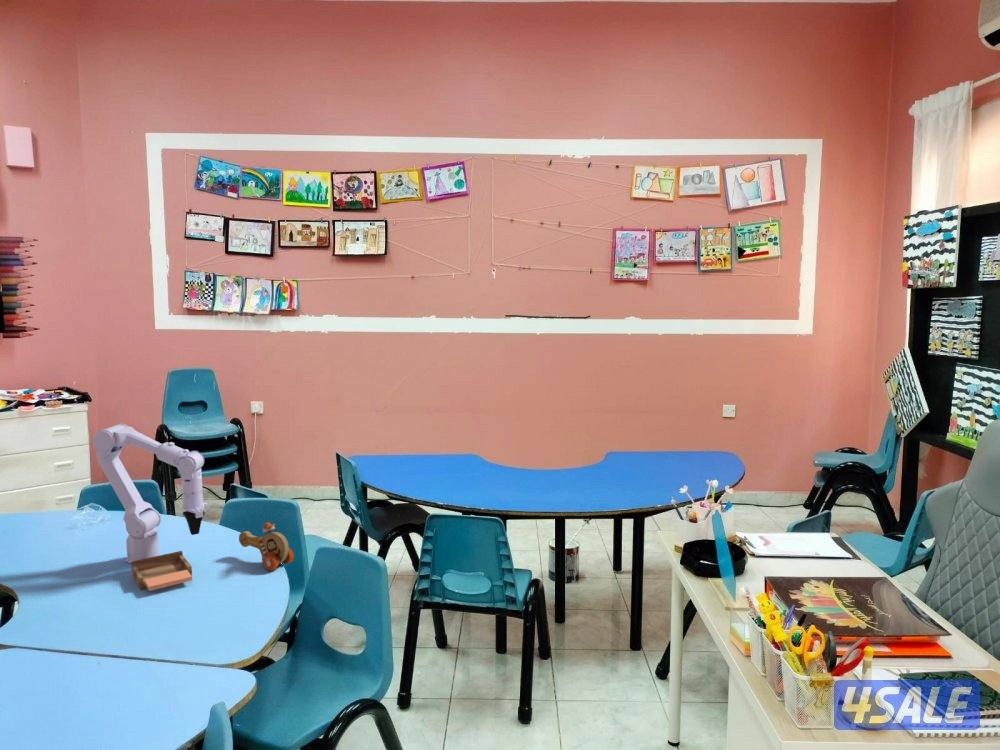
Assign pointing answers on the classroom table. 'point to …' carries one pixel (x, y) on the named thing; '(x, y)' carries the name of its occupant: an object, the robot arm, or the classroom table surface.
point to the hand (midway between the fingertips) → (194, 533)
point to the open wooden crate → (158, 567)
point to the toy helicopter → (269, 546)
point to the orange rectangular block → (168, 580)
